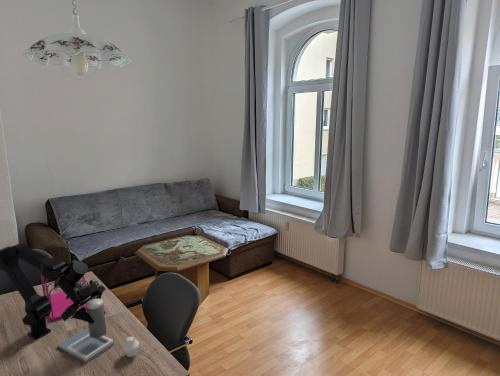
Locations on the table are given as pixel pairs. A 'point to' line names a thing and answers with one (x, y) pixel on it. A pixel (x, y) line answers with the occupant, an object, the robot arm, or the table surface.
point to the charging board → (85, 345)
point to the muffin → (130, 346)
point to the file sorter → (58, 300)
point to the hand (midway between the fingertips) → (99, 318)
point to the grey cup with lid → (96, 318)
